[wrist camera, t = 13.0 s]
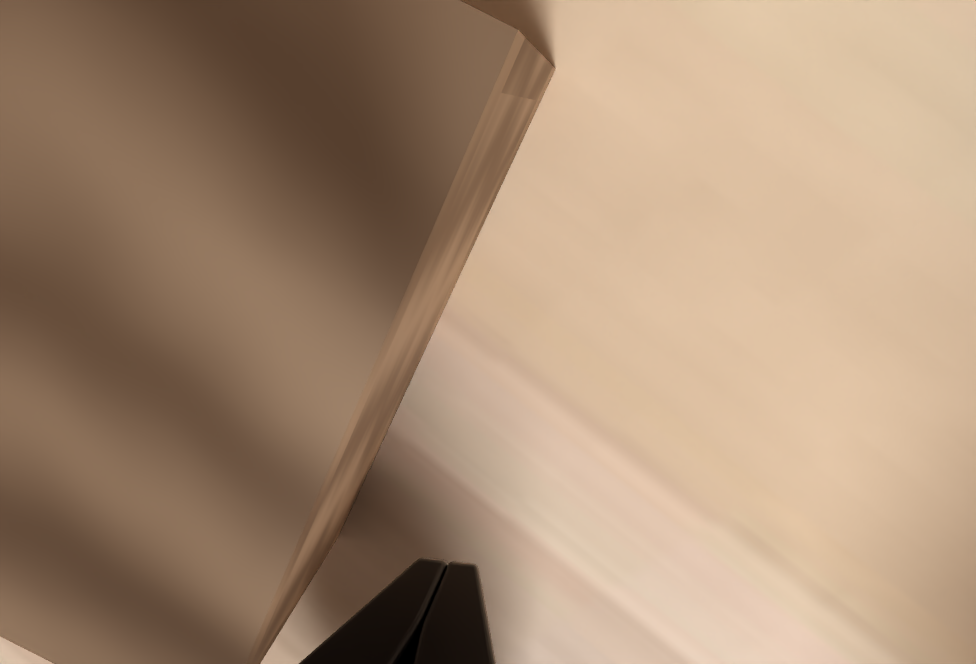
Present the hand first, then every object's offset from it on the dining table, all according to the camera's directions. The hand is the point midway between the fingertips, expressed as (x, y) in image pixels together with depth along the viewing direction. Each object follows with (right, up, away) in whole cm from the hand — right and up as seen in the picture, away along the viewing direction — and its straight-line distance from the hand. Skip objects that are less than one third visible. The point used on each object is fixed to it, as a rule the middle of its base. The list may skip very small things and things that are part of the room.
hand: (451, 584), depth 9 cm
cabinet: (-6, +5, +13) cm, 15 cm away
